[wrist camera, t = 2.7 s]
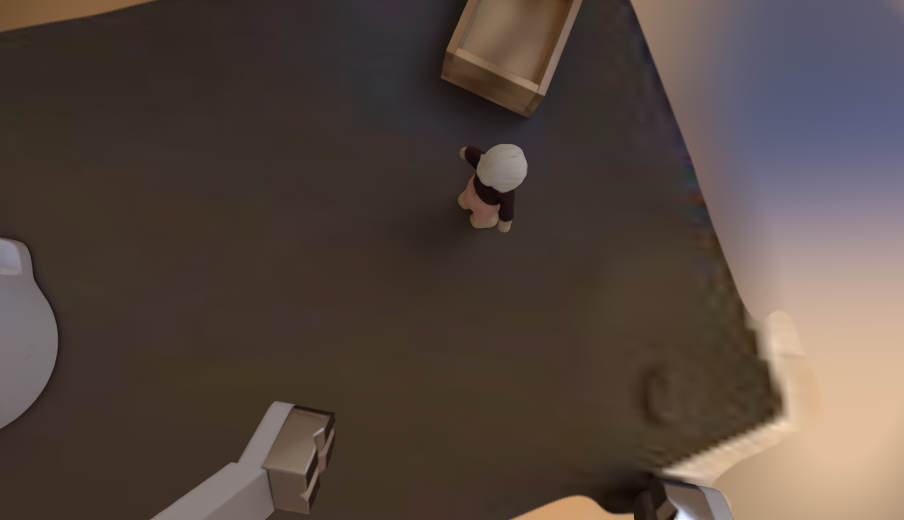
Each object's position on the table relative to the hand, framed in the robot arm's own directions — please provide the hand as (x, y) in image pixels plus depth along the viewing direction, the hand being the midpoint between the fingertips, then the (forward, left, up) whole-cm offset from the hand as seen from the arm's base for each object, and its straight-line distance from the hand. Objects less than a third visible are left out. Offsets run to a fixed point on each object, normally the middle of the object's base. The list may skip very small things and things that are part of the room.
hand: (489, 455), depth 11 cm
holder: (-3, +31, -28) cm, 42 cm away
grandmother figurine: (0, +14, -28) cm, 32 cm away
